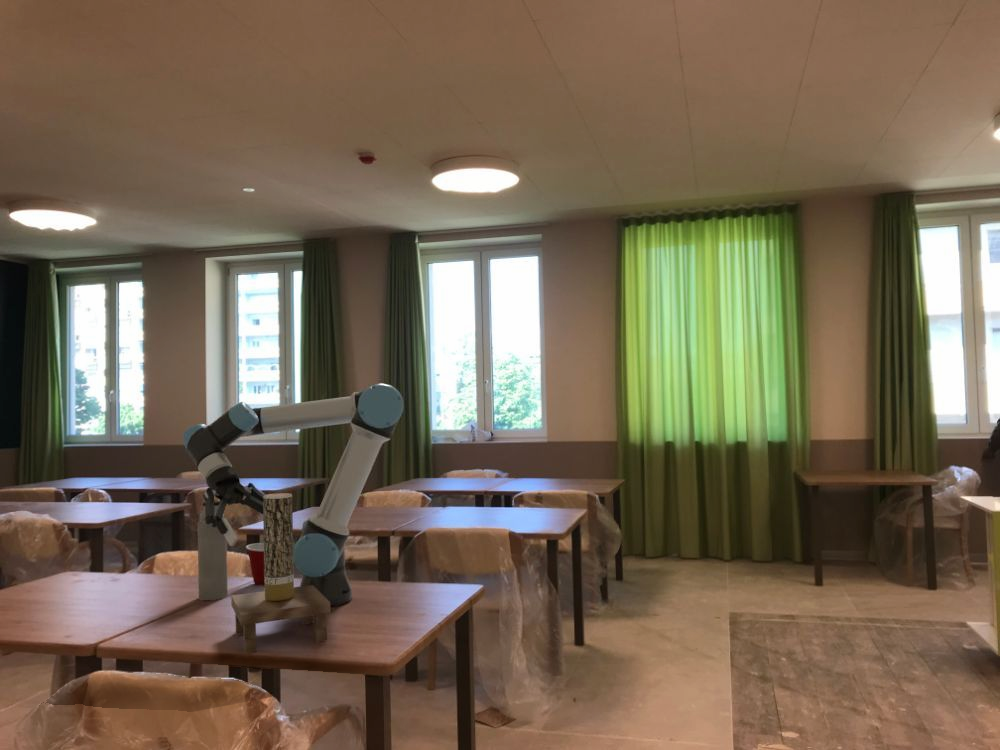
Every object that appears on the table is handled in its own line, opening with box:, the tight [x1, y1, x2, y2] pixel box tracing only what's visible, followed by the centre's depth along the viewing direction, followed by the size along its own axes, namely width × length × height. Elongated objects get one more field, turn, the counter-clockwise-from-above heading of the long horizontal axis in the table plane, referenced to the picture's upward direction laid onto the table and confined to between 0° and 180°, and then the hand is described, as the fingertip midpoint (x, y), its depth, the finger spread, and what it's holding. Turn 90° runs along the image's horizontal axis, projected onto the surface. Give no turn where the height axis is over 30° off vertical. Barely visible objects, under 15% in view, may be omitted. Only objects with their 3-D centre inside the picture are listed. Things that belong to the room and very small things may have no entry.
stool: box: [230, 585, 331, 655], centre depth 182 cm, size 20×20×9 cm
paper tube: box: [262, 492, 295, 602], centre depth 183 cm, size 7×7×25 cm
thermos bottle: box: [197, 500, 229, 601], centre depth 223 cm, size 8×8×28 cm
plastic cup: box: [245, 542, 265, 586], centre depth 238 cm, size 11×11×12 cm
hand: (257, 538), depth 187 cm, fingers open, 13 cm apart
